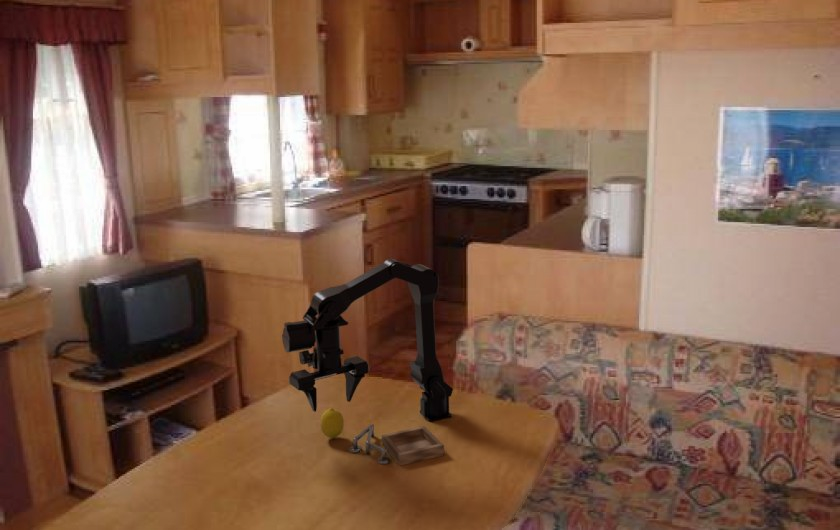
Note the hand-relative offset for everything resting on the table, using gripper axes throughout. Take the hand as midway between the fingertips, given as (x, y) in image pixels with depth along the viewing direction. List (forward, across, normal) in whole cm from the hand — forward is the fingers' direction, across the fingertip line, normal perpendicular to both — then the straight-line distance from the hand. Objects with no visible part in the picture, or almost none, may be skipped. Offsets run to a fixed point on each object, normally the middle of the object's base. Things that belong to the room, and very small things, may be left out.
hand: (331, 406), depth 188 cm
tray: (+8, -12, +16) cm, 22 cm away
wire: (+9, -4, +11) cm, 14 cm away
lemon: (+9, 0, 0) cm, 9 cm away
